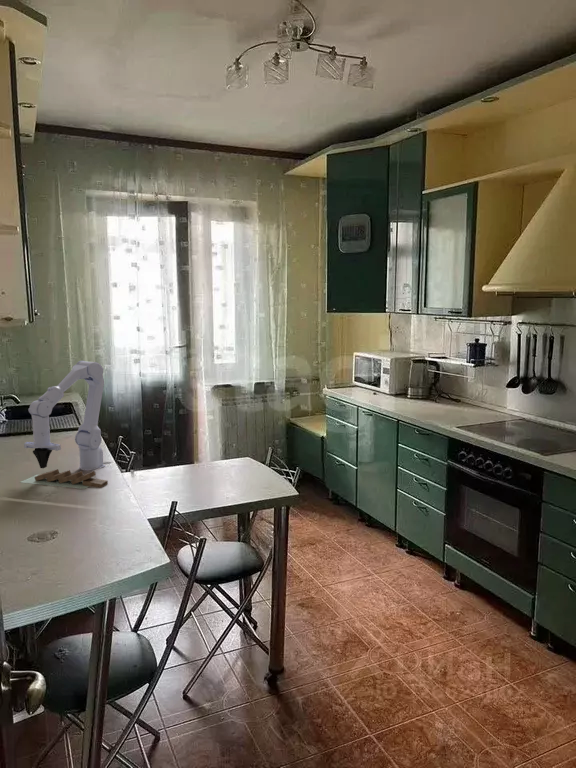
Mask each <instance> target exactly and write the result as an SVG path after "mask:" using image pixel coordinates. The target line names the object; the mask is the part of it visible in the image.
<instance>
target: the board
mask: <svg viewBox="0 0 576 768" xmlns="http://www.w3.org/2000/svg"><path fill="white" fill-rule="evenodd" d="M38 475H39V474H35V475H33V476H31V477H28V478H26V479H24V480H21V481H20V483H24V484H32V485H43V486H50V487H51V486H52V487H63V488H72V489H84V490H86V489H88V488H89V487H91V486H85V485H83V481H81V482H78V483H76V484H73V485H72V482H71V480H70V481H66V482H63V483H59V480H58V479H57V480H54V481H50V482H47V479H46V478H45V479H42V480H38V481H36V480H35V477H36V476H38Z"/></svg>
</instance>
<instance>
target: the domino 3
mask: <svg viewBox="0 0 576 768" xmlns="http://www.w3.org/2000/svg"><path fill="white" fill-rule="evenodd" d="M83 475H84V473H83V471H82V470H81V471H77V472H74V473H71V475H69V476H67V477H64V478H61V479H58V480H59V483H63V482H66V481H70V480H73V479H76V478H79V477H81V476H83Z"/></svg>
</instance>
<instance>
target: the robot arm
mask: <svg viewBox="0 0 576 768" xmlns="http://www.w3.org/2000/svg"><path fill="white" fill-rule="evenodd" d="M103 375H104V367H103V366H102V365H101V364H100V363H99V362H98V361H97V362H96V361H86V360H79V361H77V362H76V364H74V365H73V366H72V368H71V370H70V371H69V372H68V373H67V374H66V375H65V377H64V378H63V379H62V380H61V381H60V382H59V383H58V384H57V385H52V386H49V387H47V390H46V391H45V392H44V393H43V394H42V395H41V396H39V397H38V399H37V400H34V401H32V402H31V403H30V405H29V408H28V409H27V410H28V413H29V414H30V415H31V419H32V433H33V434H32V436H33V441H25V442H24V443H23V448H24V449H34V450H32V454H33V455H34V456H35V458H36V460H37V463H38V465H39V468H40V469H45V468H47V467H48V463H49V458H50V455H51V454H52V452H53V451H55V452H57V451H61V449H62V448H61V447H62V445H61V444H59V443H54V442H51V434H50V433H51V432H50V431H51V429H50V428H51V427H50V415H51V414H52V411H53V408H54V407H55V406H56V405H57V404H58V403H59V402H60V401H61V400H62V399H63V398H64V396H65V395H64V393H65V392H66V391H67V390H68V389H70V388H71V387H72V386H73V385H74V384H75V383H76V382H77V381H79V380H84V381H85V382H86V383H87V385H88V392H87V399H86V403H85V404H86V405H85V410H84V416H83V422H82V424H80V426H78V430H77V432H76V434H75V437H74V442H75V444H76V445H77V446H78V451H79V453H78V455H79V468H80V470H81V471H82V470H83V471H92V470H93V471H94V470H97V469H98V468H100V469H102V468H104V467H106V464H104V451H103V449H102V447H101V443H102V436H101V435H102V431H101V428H100V427H99V426H98V423H99V418H100V417H99V416H100V410H101V405H102V399H103V391H104V386H105V379H104V376H103Z"/></svg>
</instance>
